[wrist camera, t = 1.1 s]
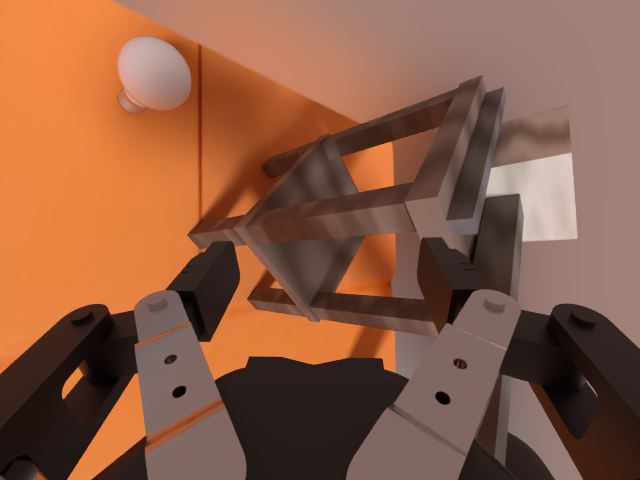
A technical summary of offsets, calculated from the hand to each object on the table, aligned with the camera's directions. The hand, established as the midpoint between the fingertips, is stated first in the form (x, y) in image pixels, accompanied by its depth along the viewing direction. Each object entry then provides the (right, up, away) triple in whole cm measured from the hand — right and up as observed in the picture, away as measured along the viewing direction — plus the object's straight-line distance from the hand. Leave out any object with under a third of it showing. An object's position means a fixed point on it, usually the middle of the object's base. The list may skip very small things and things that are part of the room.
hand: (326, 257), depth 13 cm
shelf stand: (-9, +2, +35) cm, 36 cm away
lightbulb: (-22, +16, +21) cm, 35 cm away
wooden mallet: (+11, -1, +9) cm, 15 cm away
